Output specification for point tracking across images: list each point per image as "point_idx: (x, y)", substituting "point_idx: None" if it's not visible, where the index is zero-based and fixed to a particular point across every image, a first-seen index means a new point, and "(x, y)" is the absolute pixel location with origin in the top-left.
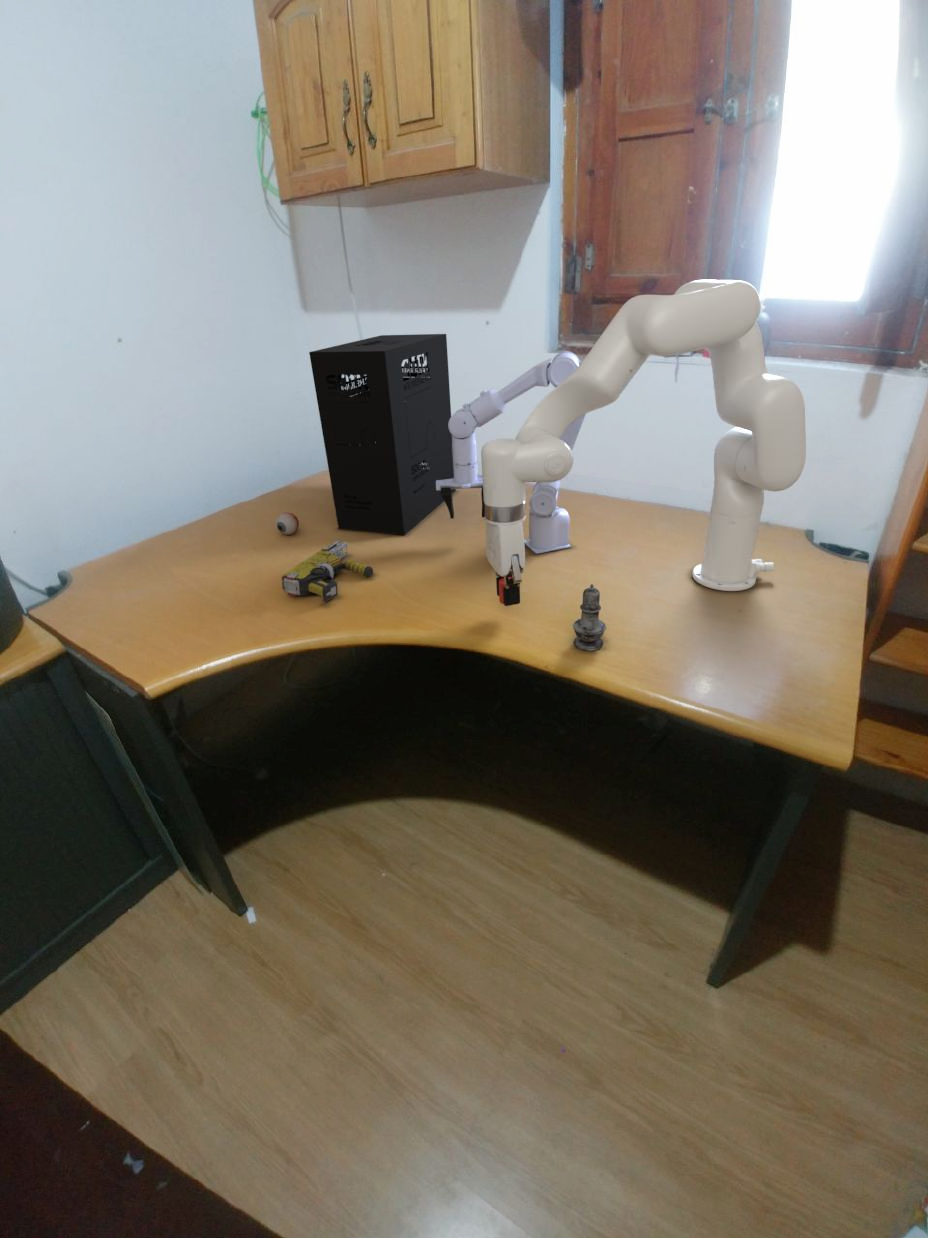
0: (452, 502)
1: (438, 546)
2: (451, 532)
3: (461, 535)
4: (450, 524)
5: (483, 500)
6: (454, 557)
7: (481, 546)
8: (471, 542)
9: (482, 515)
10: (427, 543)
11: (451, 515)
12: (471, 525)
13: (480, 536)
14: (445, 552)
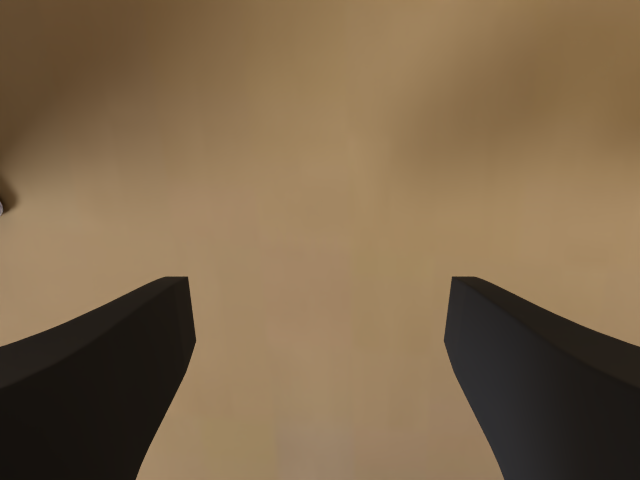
0: (497, 448)
1: (498, 199)
2: (417, 372)
3: (364, 333)
4: (419, 457)
5: (36, 354)
6: (407, 15)
7: (245, 180)
8: (307, 241)
9: (171, 280)
10: (557, 245)
11: (482, 283)
12: (316, 440)
13: (262, 314)
14: (461, 104)
